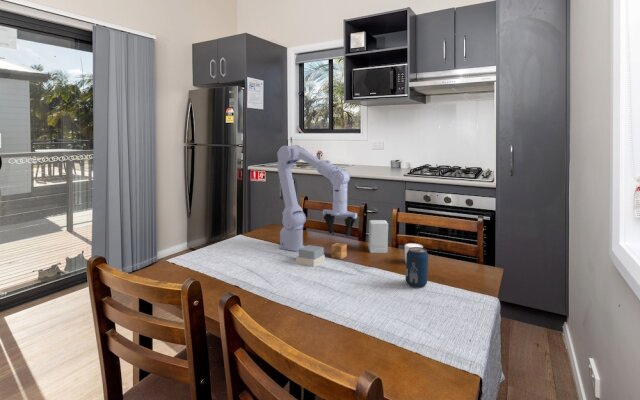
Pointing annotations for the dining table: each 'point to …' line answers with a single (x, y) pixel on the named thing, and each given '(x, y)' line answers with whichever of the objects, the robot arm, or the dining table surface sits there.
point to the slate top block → (311, 252)
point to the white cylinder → (410, 247)
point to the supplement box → (378, 236)
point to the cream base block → (310, 261)
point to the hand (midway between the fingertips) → (339, 234)
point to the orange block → (339, 250)
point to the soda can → (417, 267)
